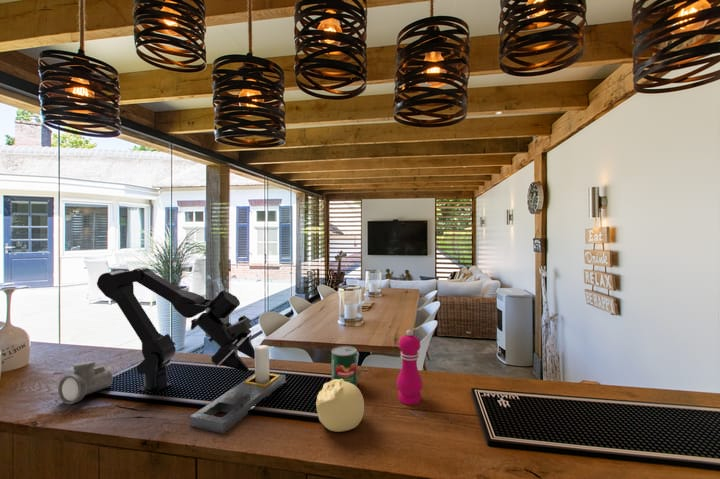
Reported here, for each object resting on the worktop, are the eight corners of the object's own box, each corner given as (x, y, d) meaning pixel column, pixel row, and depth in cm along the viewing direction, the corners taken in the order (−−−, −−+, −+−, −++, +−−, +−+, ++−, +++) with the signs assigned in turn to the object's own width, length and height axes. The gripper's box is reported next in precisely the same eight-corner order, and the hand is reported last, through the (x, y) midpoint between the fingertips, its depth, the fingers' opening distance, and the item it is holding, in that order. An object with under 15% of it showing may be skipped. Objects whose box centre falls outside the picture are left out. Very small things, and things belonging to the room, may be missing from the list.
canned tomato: (342, 393, 102) (341, 357, 102) (326, 384, 108) (326, 350, 108) (362, 385, 108) (362, 350, 107) (346, 377, 113) (346, 344, 113)
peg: (254, 391, 104) (253, 350, 104) (256, 385, 108) (255, 345, 108) (268, 390, 105) (267, 349, 104) (270, 384, 109) (269, 344, 108)
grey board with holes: (223, 433, 83) (222, 422, 83) (190, 426, 86) (190, 415, 86) (285, 383, 110) (285, 374, 109) (258, 378, 113) (258, 370, 113)
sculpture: (319, 411, 93) (319, 371, 92) (364, 412, 92) (364, 372, 92) (312, 437, 81) (311, 392, 81) (363, 438, 81) (363, 393, 80)
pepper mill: (425, 396, 101) (425, 327, 100) (418, 408, 94) (418, 335, 93) (401, 391, 104) (401, 325, 103) (393, 402, 97) (392, 331, 96)
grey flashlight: (77, 406, 96) (77, 367, 97) (56, 404, 98) (56, 367, 99) (118, 391, 107) (118, 356, 108) (98, 390, 109) (98, 356, 110)
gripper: (221, 318, 96) (262, 357, 97) (244, 303, 115) (278, 336, 115) (194, 346, 97) (234, 385, 97) (221, 326, 115) (255, 359, 116)
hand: (252, 364), depth 106 cm, fingers open, 9 cm apart
